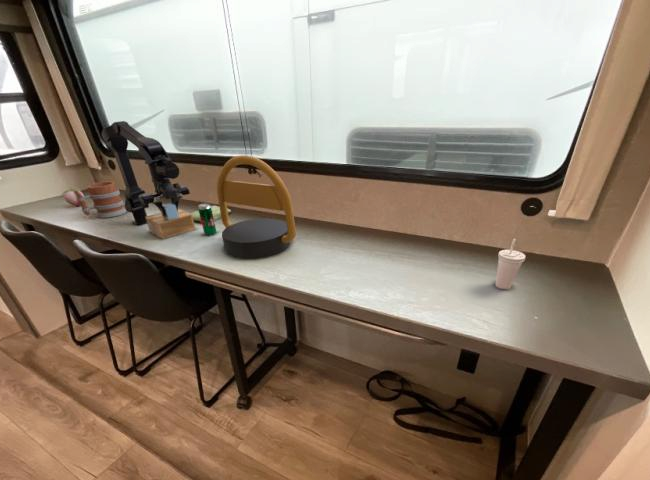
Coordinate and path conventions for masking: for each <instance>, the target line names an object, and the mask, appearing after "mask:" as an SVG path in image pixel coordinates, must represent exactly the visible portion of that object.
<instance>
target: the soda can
mask: <svg viewBox="0 0 650 480" xmlns="http://www.w3.org/2000/svg"><path fill="white" fill-rule="evenodd" d="M211 206H212V205H211V204H210V203H200V204H199V205H198V207H197V211H199V215H200V219H201V222H200V223H201V227H202V231H203V234H204V235H205V236H213V235H215V234H216V233H217V227H216V222H215V220H214V218H213V214H212V209H211Z"/></svg>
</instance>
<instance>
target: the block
mask: <svg viewBox="0 0 650 480" xmlns="http://www.w3.org/2000/svg"><path fill="white" fill-rule="evenodd" d="M162 205H163V208H164V210H165V213H166V217H165V216H164V218H166V219H168V220H171V219H174V218H178V217H179V215H178V212H177V209H176V205H174V204H172V202H170V203H169V202H168V203H165V204H162Z"/></svg>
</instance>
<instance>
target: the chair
mask: <svg viewBox="0 0 650 480" xmlns="http://www.w3.org/2000/svg"><path fill="white" fill-rule="evenodd" d="M239 165H249V166H252V167H255V168H256V169H259V170H260V171H261V172H262V173H263V174H265V175H266V176H267V177H268V178H269V179H270V181H271V182H272V183H273V184H266V183H258V182H248V181H239V180H229V179H228V177H229V174H230V173H231V171H232V170H233V168H234V169H235V167H237V166H239ZM216 194H217V201H218V207H220V212H221V217H220V219H221V221H222V224H223V226H224V227H225V228H224V229H223V230H222V231H221V238H222V242H223V247H224V251H225V253H226V254H227V255H228V256H230V257H232V258H234V259H242V260H257V259H258V260H259V259H264V258H268V257H269V258H270V257H272V256H275V255H278V254H280V253H282V252H285V251H286V250H287V249H288V248H289V247H290V245H291V243H292V242H293V241H294V239H295V237H296V236H297V232H296V230H297V229H296V223H295V216H294V210H293V203H292V199H291V198H292V197H291V196H290V193H289V190H288V188H287V186H286V184H285V183H284V181H283V180H282V178H281V177H280V175H279V174H278V173H277V172H276V171H275V170H274V169H273V168H272V167H271V166H270V165H269V164H267V163H266V162H265V161H263V160H261V159H259V158H257V157H255V156H252V155H237V156H234V157H232V158H230V159H228V160H227V161H226V162H225V164H224V165H223V166H222V169H221V170H220V173H219V175H218V178H217V183H216ZM227 203H228V204H234V205H239V206H240V205H241V206H247V207H254V208H260V209H266V210H272V211H279V212H282V211H283V212H284V216H285V221H284V220H280V219H276V218H254V219H253V218H252V219H248V220H242V221H239V222H235V223H232V222H231V220H230V218H229V213H228V211H227V209H228V206H227Z"/></svg>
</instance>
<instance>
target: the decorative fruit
mask: <svg viewBox="0 0 650 480" xmlns="http://www.w3.org/2000/svg"><path fill="white" fill-rule="evenodd" d="M76 190H77V191H78V192H79V193H80V194H81V195H82V196H83V197H85V195H84V193H83V190H82V189H79V188H74V189H72V188H71V187H70V188H69V190H65V191H63V192H62V194H61V195H63V197H64V200H65V201H66V203H67V204H69V205H71V206H76V207H81V205H80V203H79V201H78V200H77V196H76V194H75V193H74V191H76Z"/></svg>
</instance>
